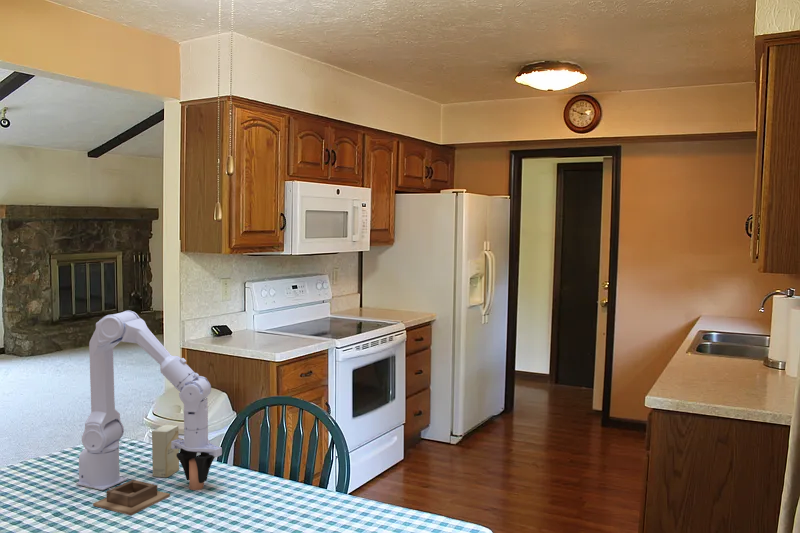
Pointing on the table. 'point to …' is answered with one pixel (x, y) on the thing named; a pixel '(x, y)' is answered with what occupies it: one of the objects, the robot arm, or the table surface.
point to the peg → (194, 476)
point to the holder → (131, 497)
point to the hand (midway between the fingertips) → (196, 480)
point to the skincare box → (164, 451)
